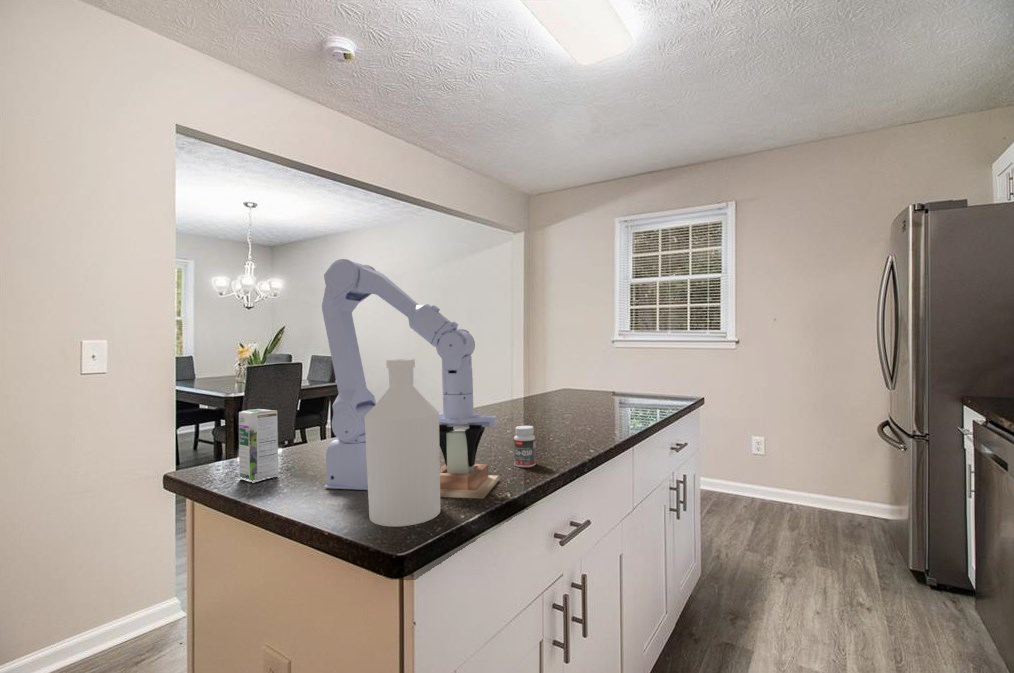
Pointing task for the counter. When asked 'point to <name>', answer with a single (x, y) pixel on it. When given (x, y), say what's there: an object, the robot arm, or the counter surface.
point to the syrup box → (258, 444)
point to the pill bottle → (524, 447)
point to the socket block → (467, 483)
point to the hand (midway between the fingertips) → (460, 465)
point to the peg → (457, 453)
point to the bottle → (402, 452)
